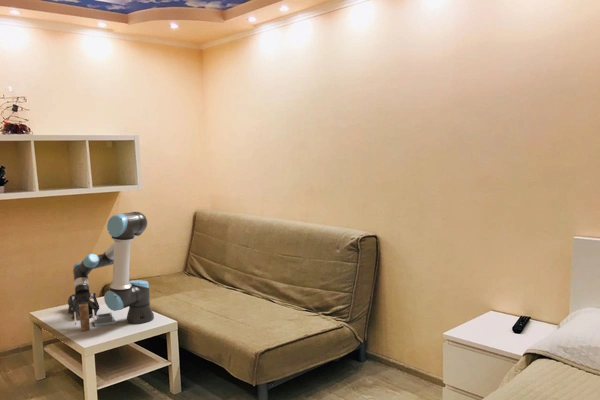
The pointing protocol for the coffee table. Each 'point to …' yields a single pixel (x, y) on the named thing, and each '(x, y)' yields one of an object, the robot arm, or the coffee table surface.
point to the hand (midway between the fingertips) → (85, 322)
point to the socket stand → (104, 319)
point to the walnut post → (84, 317)
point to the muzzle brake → (82, 303)
